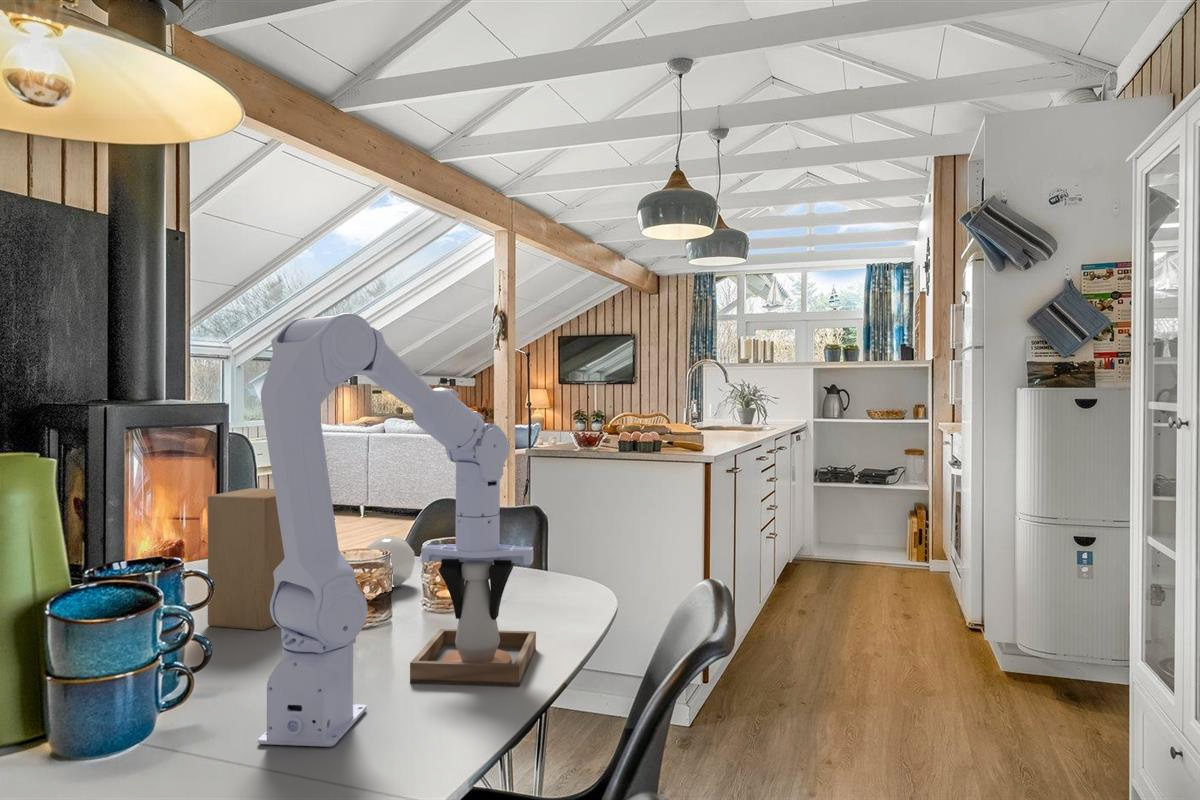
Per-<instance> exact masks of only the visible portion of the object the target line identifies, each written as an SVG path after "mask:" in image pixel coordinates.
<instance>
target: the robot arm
mask: <svg viewBox="0 0 1200 800" xmlns="http://www.w3.org/2000/svg"><path fill="white" fill-rule="evenodd" d="M270 342H271V349H272V356H271V360H270V362H269V364H268V368H267V371H266V375H265V376H264V381H263V383H262V386H261V390H260V402H261V409H262V415H263V422H264V429H265V436H266V437H265V438H266V442H267V449H268V455H269V456H268V457H269V463H270V468H271V469H270V471H271V475H272V482H273V489H274V490H275V497H276V503H277V510H278V517H279V523H280V530H281V536H282V543H283V550H284V556H285V558H284V560H283V561H282V562H281V563H280V565H279V566H278V567H277V568H276V569H275V570H274V572H273V575H274V583H275V585H274V592H273V595H272V598H271V602H270V613H271V616H272V619H273V621H274V622H275V623H276V625H275V626H277V627H278V628H280V631H281V634H280V635H281V640H282V641H281V643H282V644H281V645H282V646H281V647H282V649H281V656H280V657H281V658H280V661H279V663H278V664H277V666H276V667H274V669H273V671H272V672H271V673H270V675H269V676H268V680H267V684H266V731H265V732H264V733H263V734H262V735H261V736H260V737H258V739H257V743H258V744H259V745H275V746H276V745H279V746H302V747H305V746H306V747H333V746H335V745H336V744H337V743H339V741H340V739H341V738H342V737H343V736H344V735H346V733H347V732H348V730H350V729H351V727H353V725H354V724H355V723H356V722H357V721H358V720H359V718H361V716H362V715H363V714H364V713H365V712H366V711H367V705H366V704H358V703H357V704H356V703H355V704H354V644H356V642H357V637H358V635H359V634H360V633H361V632H362V630H363V628H364V626H365V624H366V621H367V618H368V611H369V610H368V601H367V599H366V598H365V596H364V594H363V593H362V592H361V591H360V589H359V588H358V586H357V583H356V579H355V575H356V571H355V570H354V569H353V567H352V566H351V564H350V563H349V561H348V560H347V558H345V557H344V555H343V554H342V553H341V551H340V549H339V543H338V534H337V528H336V527H337V526H336V521H335V519H336V518H335V513H334V506H333V498H332V493H331V486H330V477H329V470H328V463H327V456H326V450H325V449H326V448H325V441H324V435H323V427H322V421H321V420H322V419H321V413H320V407H321V405H322V404H323V403H324V401H325V400H326V399H327V398H328V397H329V396H330V394H331V393H333V391H334V390H335V389H336V387H338V386H339V385H341V384H343V383H345V382H346V381H347V380H349V379H351V378H352V377H354V376H356V375H357V376H365V377H367V378H368V379H369V380H371V381H372V382H373V383H375V384H376V385H378V386H379V387H381V388H382V389H384V390H385V391H386V392H388V393H389V394H390V395H392V396H394V398H396V399H398V400H399V401H400V402H402V403H403V404H405V405H406V406H408V407H409V408H411V409H412V410H413V414H412V415H413V416H412V417H413V420H414V424H416V426H418V427H419V428H420V429H422V430H423V431H424V432H426V433H427V435H429V436H430V437H432V438H433V440H436V441H437V442H438V443H439V444H440V445H442V446H444V448H445V452H446V455H447V458H448V460H449V461H450V462H452V463H455V543H449V544H425V545H423V546H422V547H421V549H420V552H421V554H420V555H421V557H420V559H421V561H420V562H421V563H431V562H440V563H441V564H440V566H439V568H438V572H439V575H440V576H441V578H442V580H443V581H444V584H445V586H446V588H447V590H448V592H449V595H450V598H451V602H452V605H453V606H452V607H453V611H454V615H455V619H456V620H459V619H460V618H461V604H462V598H463V592H464V586H465V579H463V578H462V577H461V565H462V564H463V563H464V562H467V561H486V562H489V563H493V565H492V566H491V567H490V568H489V575H490V579H489V585H490V590H491V602H490V617H491V619H492V620H496V621H497V619H498V617H499V612H500V606H501V601H502V598H503V594H504V591H505V588H506V586H507V582H508V581H509V578H510V575H511V574H512V570H513V568H514V566H515V564H523V565H526V566H528V565H532V564H533V562H534V547H533V546H522V545H521V546H520V545H519V546H517V545H510V544H500V521H501V520H500V516H501V515H500V509H501V507H500V503H501V502H500V501H501V500H500V499H501V498H500V497H501V496H500V492H501V491H500V489H501V487H500V486H501V480H502V479H503V478H502V477H503V475H504V465H505V463H506V460H507V459H508V456H509V455H510V454H509V453H510V449H511V443H508V438H507V435H506V433H505V432H504V430H502V428H500V426H499V425H497V424H495V423H486V422H485V421H484V420H483V419H482V418H481V417H482V415H481V414H480V413H479V412H478V411H473V410H472V409H471V408H470V407H468V406H467V405H466V404H465V403H464V402H462V400H461V399H459V398H458V397H459V395H460V394H459V393H458V392H457V391H456V390H454V389H453V388H445V387H435V388H432V387H431V386H430V385H429V384H428V383H427V382H426V381H425V380H424V379H423V378H422V377H421V376H420V375H419V374H418V373H417V372H415V370H414V369H412V368H411V367H410V365H408V364H407V362H405V361H404V360H403V359H402V358H401V357H400V356H399V354H398V353H396V352H395V351H394V350H393V349H392V348H391V347H390V346H389V345H388V344H387V343H386V341H385V338H384V335H383V332H381V331H380V330H378V329H376V327H373V326H371V325H370V324H369V322H368V321H367V320H366V319H365V318H364V317H362V316H360V315H359V314H355V313H351V312H343V313H340V314H336V315H329V316H320V317H318V316H317V317H298V318H295V319H293V320H291V321H289V322H288V323H286V325H285V326H283V328H282V329H281V330H279V332H277V334H276V335H275V336H274V337H272V339H271V341H270Z"/></svg>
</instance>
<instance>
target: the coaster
mask: <svg viewBox="0 0 1200 800" xmlns="http://www.w3.org/2000/svg"><path fill="white" fill-rule="evenodd" d="M442 661H443V662H464V661H463V660H462V659H461V657H460V655H459V652H458V651H455V652H452V653H450V654H448V655H446V656H445V657H444V658H443V659H442ZM487 663H509V664H510V663H511V656H510V654H508V653H507V652H505V651H502V650H499V649H497V650H496V653H495V655H494V658H493V661H490V662H487Z"/></svg>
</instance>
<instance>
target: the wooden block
mask: <svg viewBox="0 0 1200 800" xmlns="http://www.w3.org/2000/svg"><path fill="white" fill-rule="evenodd" d="M284 558H285V556H284V550H283V543H282V536H281V530H280V523H279V517H278V510H277V503H276V497H275V490H274V488H255V487H249V488H243V489H239V490H238V489H237V490H232V491H228V492H222V493H215V494H210V495H209V496H208V497H207V576H208V575H209V576H210V577H211V578H212V579H213V580H214V583H215V592H214V596H213V598H212V600H211V601H210V603H209V604H208V603H207V626H208V627H209V626H210V627H218V628H219V627H220V628H231V629H232V628H233V629H242V630H243V629H245V630H246V629H247V630H255V631H256V630H257V631H265V630H268V629H269V628H272V627H273V626H277V625H276V623H275V622H274V621H273V619H272V616H271V613H270V602H271V598H272V595H273V592H274V585H275V583H274V575H273V572H274V570H275V569H276V568H277V567H278V566H279V565H280V563H281V562H282V561H283V560H284ZM208 594H209V586H208V585H207V595H208Z"/></svg>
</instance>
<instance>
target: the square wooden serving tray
mask: <svg viewBox="0 0 1200 800" xmlns="http://www.w3.org/2000/svg"><path fill="white" fill-rule="evenodd" d="M498 631H499V636H500V644H499V646H498V648H497V649H499V650H502V651H505V652H507V653H508V654H510V656H511V663H510V664H509V663H476V662H443V661H442V659H443V658H444V657H445V656H446V655H448V654H450V653H452V652H455V651H458V650H457V648H456V645H455V639H456V633H457V628H456V629H452V628H439V630H438V631H437V632H436V633H435V634H434V635H433V636H432V638H431V639H430V640H429V641H428V642H427V643H426V644H425V646H424V647H422V649H421V650H420V651H419V652H418V653H417V654H416V656H415V657H414V658H413V659H412V660H411V661H410V662H409V683H410V684H423V685H424V684H430V685H434V684H435V685H460V686H462V685H463V686H487V687H488V686H492V687H517V688H518V687H520V686H521V684H522V681H523V679H524V676H525V674H526V672H527V670H528V667H529V665H530V663H531V660H532V659H533V656H534V654H535V652H536V650H537V646H536V645H537V631H534V630H533V631H531V630H530V631H528V630H527V631H526V630H525V631H524V630H498Z"/></svg>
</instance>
